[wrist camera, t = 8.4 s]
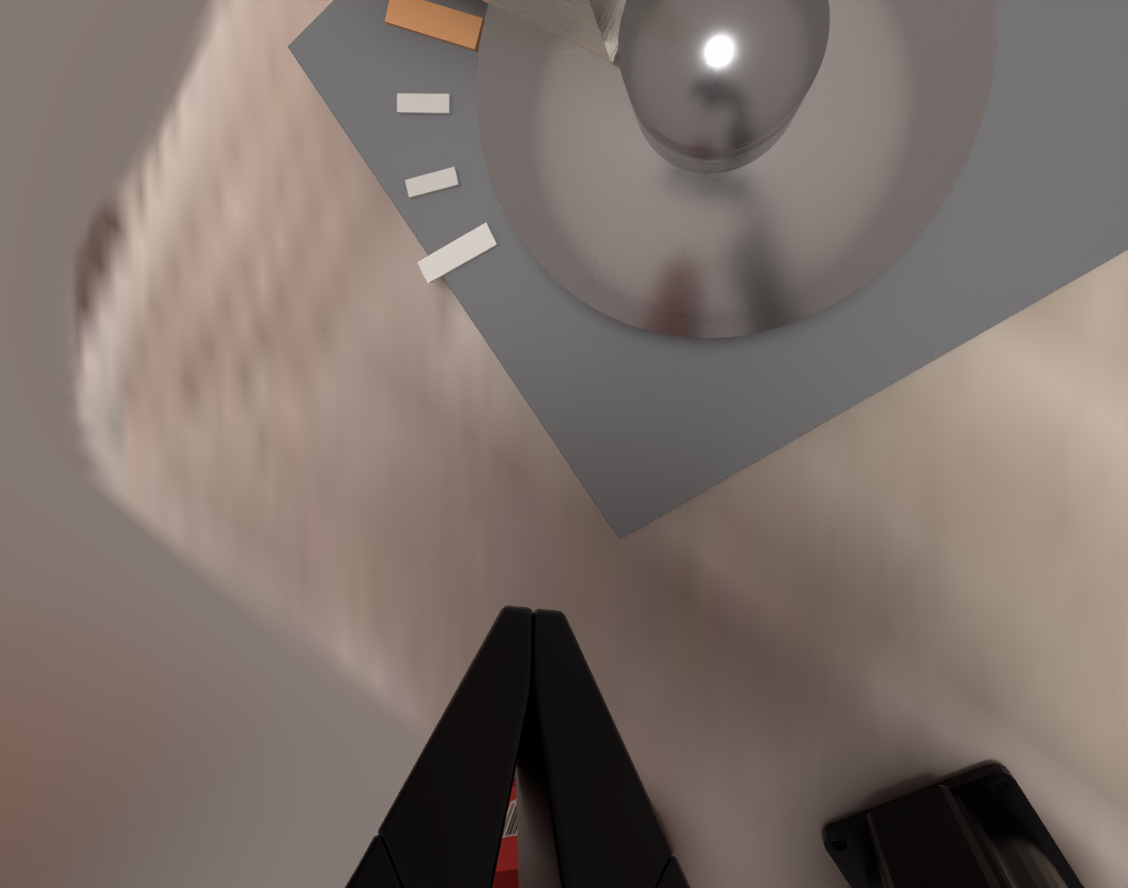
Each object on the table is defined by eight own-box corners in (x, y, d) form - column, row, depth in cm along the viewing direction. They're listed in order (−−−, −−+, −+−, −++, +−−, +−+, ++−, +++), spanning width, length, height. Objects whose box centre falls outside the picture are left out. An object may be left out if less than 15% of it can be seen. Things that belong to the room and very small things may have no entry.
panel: (1203, 192, 17) (1247, 183, 15) (612, 533, 22) (606, 548, 21) (839, -460, 15) (853, -533, 14) (300, 69, 21) (272, 53, 19)
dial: (1075, -40, 15) (1446, -367, 8) (795, 408, 18) (863, 485, 11) (460, -321, 16) (258, -844, 9) (304, 151, 20) (64, 64, 12)
